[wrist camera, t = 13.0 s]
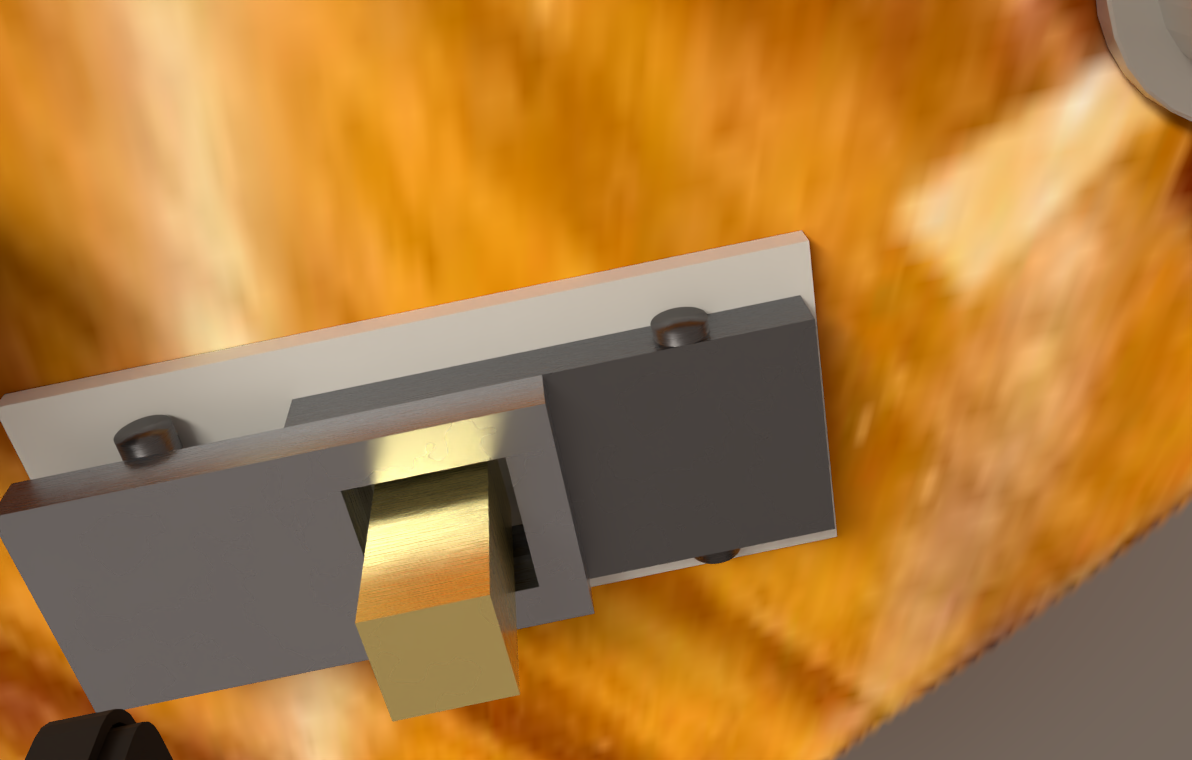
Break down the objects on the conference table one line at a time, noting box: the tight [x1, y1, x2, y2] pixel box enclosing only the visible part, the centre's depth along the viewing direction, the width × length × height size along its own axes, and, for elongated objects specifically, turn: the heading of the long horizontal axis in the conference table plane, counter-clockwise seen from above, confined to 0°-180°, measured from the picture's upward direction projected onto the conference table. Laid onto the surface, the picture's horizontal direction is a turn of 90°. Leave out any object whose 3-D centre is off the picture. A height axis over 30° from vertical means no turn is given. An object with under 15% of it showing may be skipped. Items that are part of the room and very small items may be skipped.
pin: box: [355, 459, 520, 721], centre depth 38 cm, size 4×4×10 cm
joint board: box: [0, 231, 837, 587], centre depth 43 cm, size 29×13×1 cm, turn 100°
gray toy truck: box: [0, 295, 835, 713], centre depth 41 cm, size 28×10×4 cm, turn 100°
